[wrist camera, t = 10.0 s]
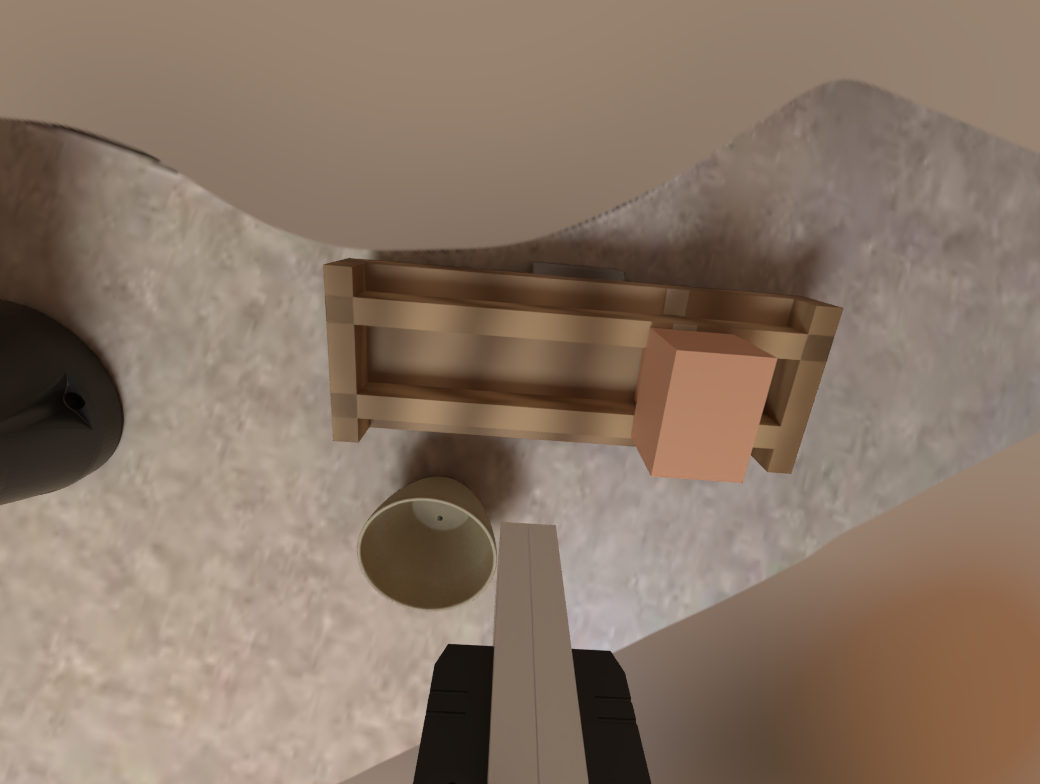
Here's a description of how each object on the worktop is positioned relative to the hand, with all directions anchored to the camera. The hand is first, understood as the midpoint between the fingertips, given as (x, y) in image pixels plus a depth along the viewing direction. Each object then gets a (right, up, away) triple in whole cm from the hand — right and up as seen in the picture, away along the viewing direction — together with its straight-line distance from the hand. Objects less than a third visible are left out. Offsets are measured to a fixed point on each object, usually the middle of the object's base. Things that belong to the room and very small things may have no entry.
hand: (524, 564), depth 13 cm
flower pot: (-7, -5, +28) cm, 29 cm away
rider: (+10, +6, +18) cm, 21 cm away
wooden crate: (+3, +8, +23) cm, 25 cm away
